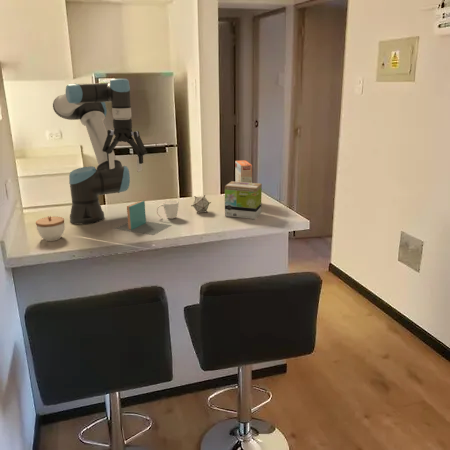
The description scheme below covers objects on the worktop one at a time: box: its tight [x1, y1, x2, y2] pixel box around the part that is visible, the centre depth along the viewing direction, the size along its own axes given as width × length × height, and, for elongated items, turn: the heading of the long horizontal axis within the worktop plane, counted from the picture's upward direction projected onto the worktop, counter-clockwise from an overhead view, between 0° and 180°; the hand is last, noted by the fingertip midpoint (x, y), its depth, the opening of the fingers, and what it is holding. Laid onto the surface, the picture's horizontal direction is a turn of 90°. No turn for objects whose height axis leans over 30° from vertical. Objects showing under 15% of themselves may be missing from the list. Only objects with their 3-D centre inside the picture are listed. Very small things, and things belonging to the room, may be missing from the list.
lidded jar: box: [35, 215, 66, 242], centre depth 190 cm, size 11×11×9 cm
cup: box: [156, 199, 180, 220], centre depth 213 cm, size 7×10×8 cm
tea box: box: [224, 180, 263, 220], centre depth 217 cm, size 15×10×15 cm
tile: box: [126, 200, 147, 230], centre depth 202 cm, size 2×10×10 cm, turn 154°
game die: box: [190, 194, 212, 214], centre depth 223 cm, size 9×8×10 cm
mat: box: [114, 220, 172, 236], centre depth 202 cm, size 20×14×1 cm
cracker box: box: [234, 159, 253, 183], centre depth 234 cm, size 14×6×21 cm, turn 10°
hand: (125, 169), depth 199 cm, fingers open, 13 cm apart
